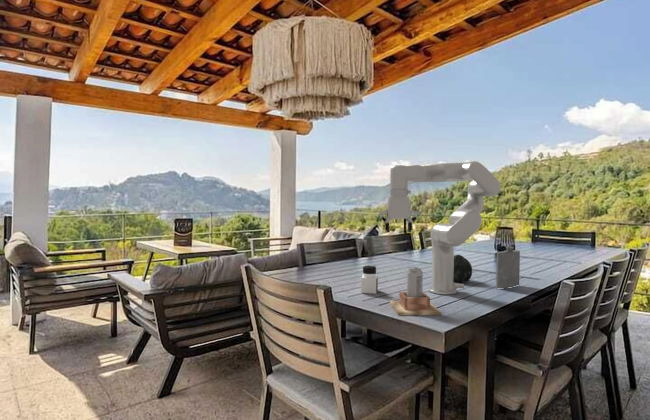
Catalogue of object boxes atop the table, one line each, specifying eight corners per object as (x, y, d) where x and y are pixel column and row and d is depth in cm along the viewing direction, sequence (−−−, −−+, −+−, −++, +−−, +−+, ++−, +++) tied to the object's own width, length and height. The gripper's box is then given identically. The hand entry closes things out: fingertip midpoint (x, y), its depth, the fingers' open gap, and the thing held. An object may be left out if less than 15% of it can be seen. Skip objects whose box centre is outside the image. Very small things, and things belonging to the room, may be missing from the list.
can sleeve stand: (428, 303, 157) (428, 289, 156) (440, 315, 141) (441, 300, 140) (389, 303, 156) (390, 289, 156) (397, 315, 140) (398, 300, 140)
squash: (454, 266, 210) (445, 247, 203) (480, 271, 199) (472, 252, 191) (443, 286, 204) (433, 267, 196) (469, 292, 192) (460, 273, 185)
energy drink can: (411, 303, 153) (412, 266, 152) (425, 306, 149) (425, 268, 148) (403, 306, 149) (403, 268, 148) (417, 309, 144) (417, 270, 144)
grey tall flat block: (514, 284, 190) (515, 245, 189) (522, 286, 187) (523, 245, 186) (494, 288, 182) (495, 247, 181) (502, 290, 178) (503, 248, 178)
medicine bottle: (376, 294, 171) (376, 267, 171) (360, 293, 173) (360, 267, 172) (377, 290, 178) (377, 264, 178) (362, 289, 180) (362, 264, 179)
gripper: (416, 193, 172) (415, 231, 172) (378, 193, 172) (377, 231, 172) (420, 193, 164) (420, 232, 165) (380, 193, 164) (380, 232, 165)
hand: (398, 231), depth 168 cm, fingers open, 9 cm apart
